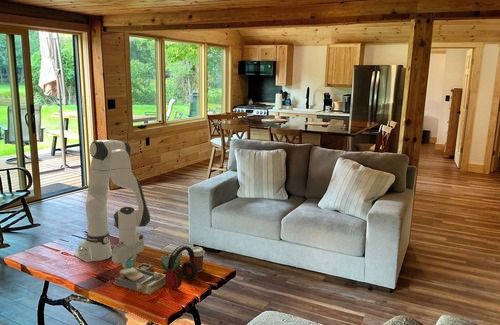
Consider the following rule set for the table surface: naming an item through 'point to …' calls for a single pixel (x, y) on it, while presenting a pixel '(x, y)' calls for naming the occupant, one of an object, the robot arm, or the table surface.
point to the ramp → (131, 274)
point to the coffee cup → (198, 257)
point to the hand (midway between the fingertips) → (129, 264)
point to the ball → (129, 263)
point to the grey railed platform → (133, 285)
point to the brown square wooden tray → (145, 267)
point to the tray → (152, 284)
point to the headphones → (187, 268)
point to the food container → (166, 259)
